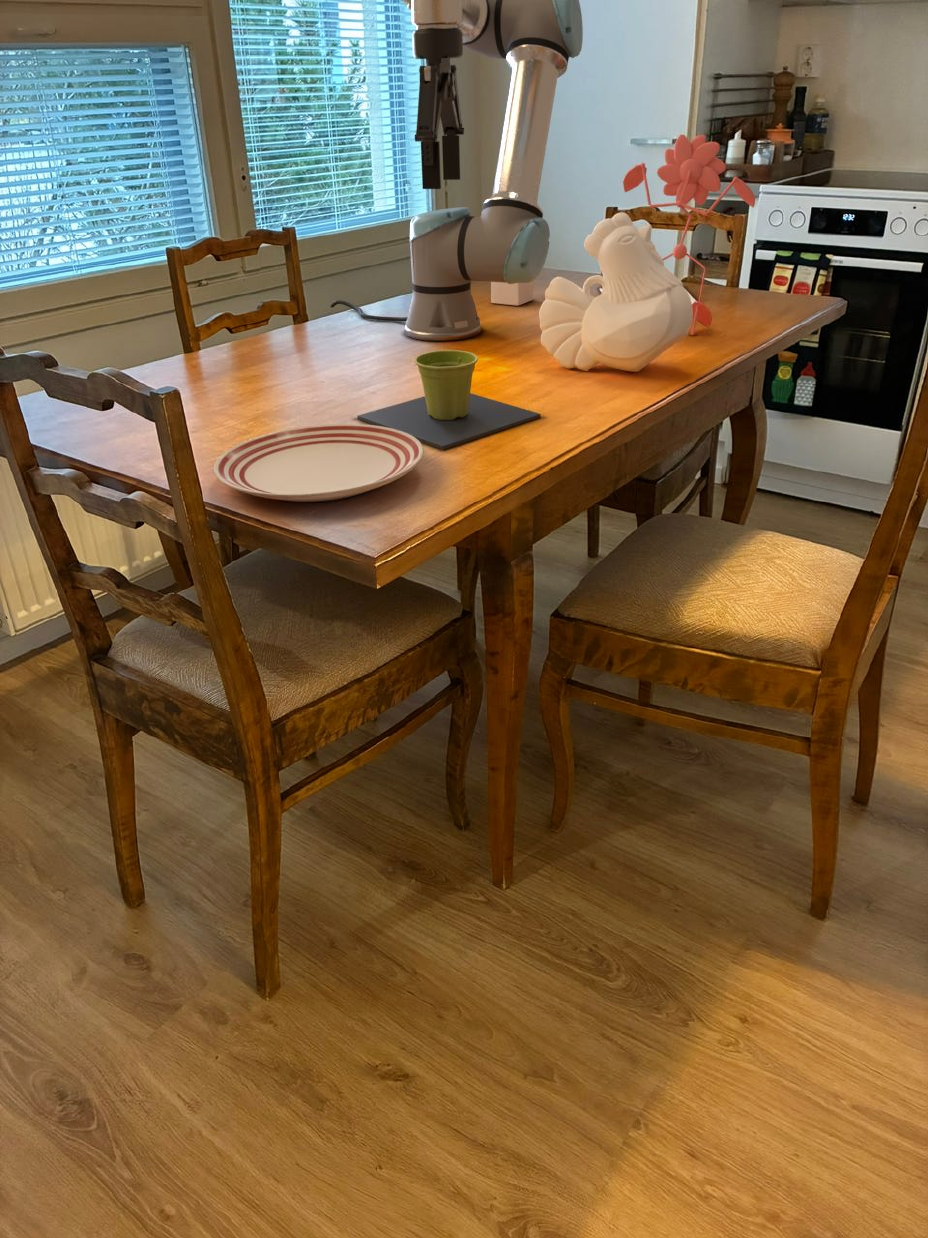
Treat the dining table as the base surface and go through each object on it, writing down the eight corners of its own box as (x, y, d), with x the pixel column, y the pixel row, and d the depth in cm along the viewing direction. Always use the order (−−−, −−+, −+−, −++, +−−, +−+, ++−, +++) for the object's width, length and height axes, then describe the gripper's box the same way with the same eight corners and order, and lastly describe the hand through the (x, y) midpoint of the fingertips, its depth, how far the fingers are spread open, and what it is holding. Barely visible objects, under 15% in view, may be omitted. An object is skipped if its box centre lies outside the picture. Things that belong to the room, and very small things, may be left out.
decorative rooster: (717, 327, 166) (649, 200, 166) (690, 330, 153) (616, 192, 152) (600, 402, 180) (537, 285, 180) (566, 410, 167) (498, 284, 167)
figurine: (734, 340, 185) (758, 137, 167) (606, 329, 195) (616, 136, 177) (750, 322, 197) (774, 131, 179) (629, 313, 207) (640, 131, 189)
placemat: (357, 419, 148) (357, 415, 148) (453, 391, 160) (453, 387, 160) (442, 450, 135) (442, 446, 135) (540, 417, 147) (540, 413, 147)
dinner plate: (171, 492, 124) (166, 468, 122) (307, 431, 144) (305, 409, 142) (339, 536, 111) (336, 509, 110) (463, 461, 131) (462, 438, 130)
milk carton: (518, 306, 215) (518, 215, 206) (491, 303, 218) (490, 213, 209) (533, 300, 220) (534, 211, 211) (506, 297, 224) (506, 209, 214)
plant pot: (472, 425, 143) (471, 367, 138) (410, 423, 144) (407, 365, 140) (483, 406, 150) (483, 350, 146) (425, 404, 152) (422, 349, 148)
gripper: (433, 30, 154) (437, 175, 164) (389, 26, 133) (398, 192, 143) (478, 29, 152) (480, 175, 163) (441, 24, 131) (446, 192, 142)
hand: (442, 184), depth 153 cm, fingers open, 13 cm apart
